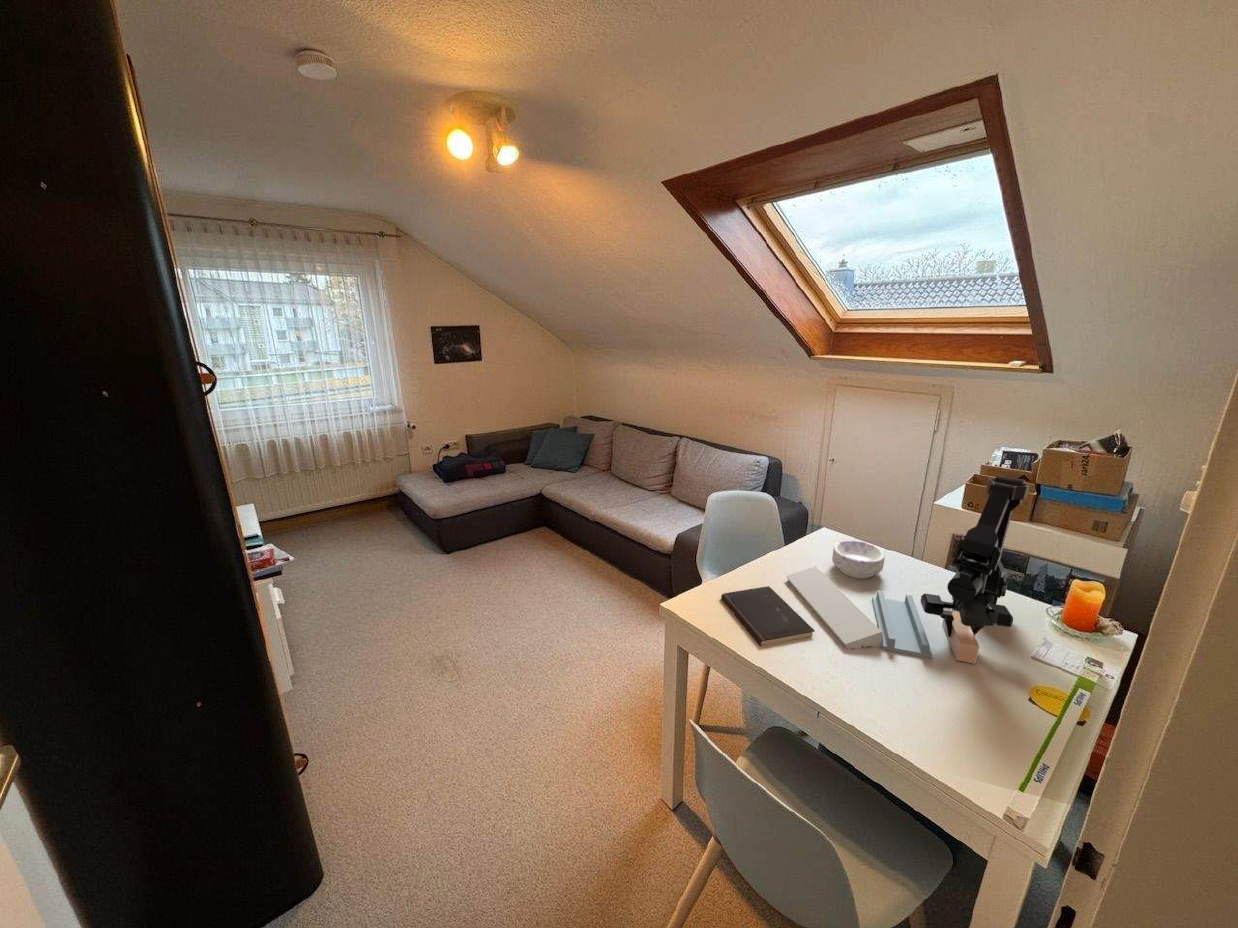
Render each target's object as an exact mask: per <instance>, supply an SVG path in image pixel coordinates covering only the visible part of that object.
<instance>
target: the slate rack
mask: <svg viewBox="0 0 1238 928" xmlns="http://www.w3.org/2000/svg"><path fill="white" fill-rule="evenodd" d="M875 596H876V597H875ZM875 596H872V597H871V601H872V604H873V605H872V606H873V610H874V615H875V619H876V626H877V627H878V628H879V629H880V630H881V631H882V635H883V643H882V646H881V648H882V650H885V651H891V652H895V653H901V654H907V655H912V656H918V657H921V658H926V659H933V652H932V649H931V647H930V643H929V640H928V637H927V634H926V630H925V628H924V625H923V623H922V618H921V617H920V614H919V612H918V611H919V610H918V609H917V608H918V607H917V605H916V604H915V603H916V602H915V600H914V598H913V595H911V594H907V593H906V594H905V598H904V601H901V600H894V599H890V598H889V599H888V598H886V597H885V593H884V591H883V590H880V589H877V591H876V595H875Z"/></svg>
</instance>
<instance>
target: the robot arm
mask: <svg viewBox="0 0 1238 928" xmlns="http://www.w3.org/2000/svg"><path fill="white" fill-rule="evenodd" d="M1029 491H1030V484H1027V483H1026V479H1021V478H1016V477H1010V476H1007V475H1006V476H1004V475H999V474H997V475H996V476H995V478H992V477H990V478H988V480H987V483H986V487H985V491H984V492H985V493H986V494H988V495H987V500H986V502H985V504H984V507H983V509H982V511H981V514H980V516H979V519H978V522H977V524H976V525H975V526H973V527H971V528H970V529H968V530H967V531H966V534H965V536H964V537H962V538H960V541H959V544H958V546H957V549H956V552H955V555H954V556H953V557H954V558H953V561H952V565H954V566H957V567H959V568H958V571H956V573H955V574H953V577H952V578H951V579H950V580H949V582H948V583H947V587H946V588H947V591H948V593H949V595H950V596H951V599H952V602H948V601H945V600H944V601H943V600H942V598H941V596H940V594H932V593H931V594H930V593H923V594H922V595H921V596H920V604H921V606H922V609H923V612H924V613H926V614H928V615H929V614H930V615H934V616H939V617H940V618H941V619H943V618H944V621H945V625H946V630H947V634H948V637H950V636H951V633H952V623H953V620H954V617H953V615H952V613H953V611H957V612H959V613H960V617H961V623H962V624H963V625H965V626H970V627H971V629H972V632H973V634H974V636H975V637H976V635H977V634H978V632H979V631H981V629H984V628H985V627H993V626H994V624H995V625H997V626H1001V627H1007V628H1012V626H1013V623H1014V616H1013V615H1012V614H1011V612H1010V610H1009V608H1007V606H1006V605H1003V604H997V603H998V599H1000V598H1001V597H1002V598H1003V597H1006V593H1007V588H1008V584H1007V581H1006V577H1004V575H1005V567H1004V566H1003V563H1002V560H1001V558H1002V553H1003V549H1004V545H1005V542H1006V537H1007V533H1008V530H1009V525H1010V522H1011V518H1012V515H1013V511H1014V510H1015V509H1016V508H1017V507H1018V506H1020V505H1021V503H1022V502H1024V500H1026V498H1027V496H1028V495H1029ZM961 556H962V558H960V557H961ZM964 558H965V559H964ZM948 637H947V638H948Z"/></svg>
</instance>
